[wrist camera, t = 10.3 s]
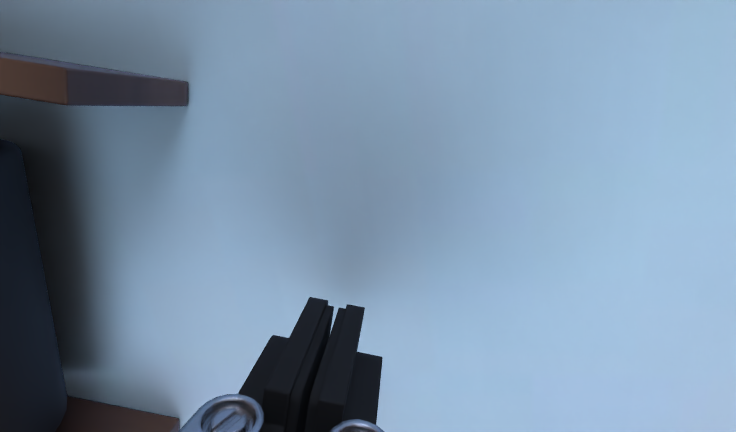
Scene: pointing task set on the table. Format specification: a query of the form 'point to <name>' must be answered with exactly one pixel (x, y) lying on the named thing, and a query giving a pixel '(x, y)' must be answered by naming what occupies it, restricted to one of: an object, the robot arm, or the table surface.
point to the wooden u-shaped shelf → (93, 88)
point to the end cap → (25, 312)
